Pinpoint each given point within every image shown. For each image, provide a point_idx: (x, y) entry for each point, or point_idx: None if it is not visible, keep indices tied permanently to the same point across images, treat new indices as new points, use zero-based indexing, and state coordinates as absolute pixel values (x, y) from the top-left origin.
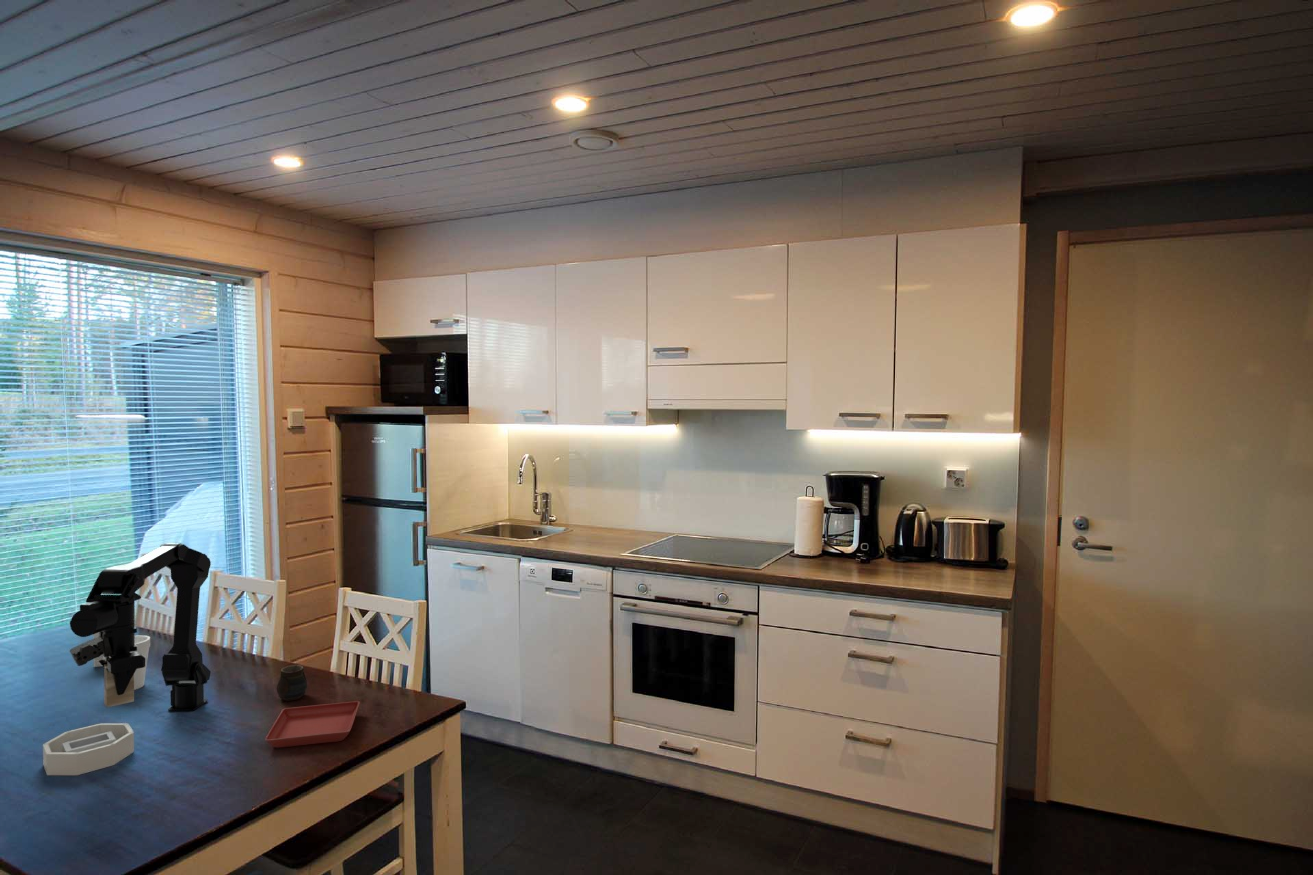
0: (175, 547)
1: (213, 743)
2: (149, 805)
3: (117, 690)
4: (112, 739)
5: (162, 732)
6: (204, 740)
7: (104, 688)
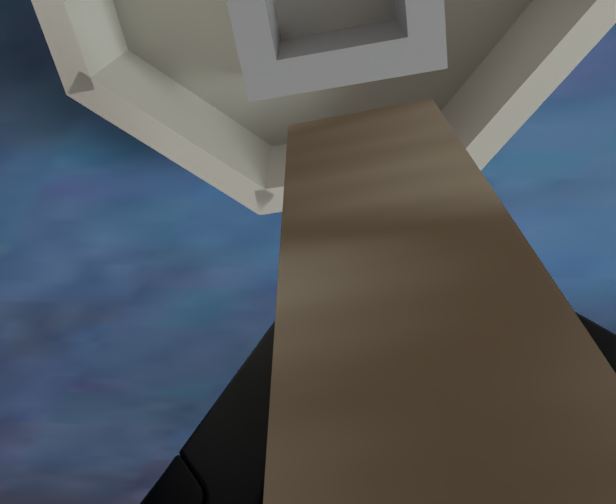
0: None
1: (167, 444)
2: None
3: (254, 349)
4: (251, 80)
5: None
6: None
7: (478, 192)
